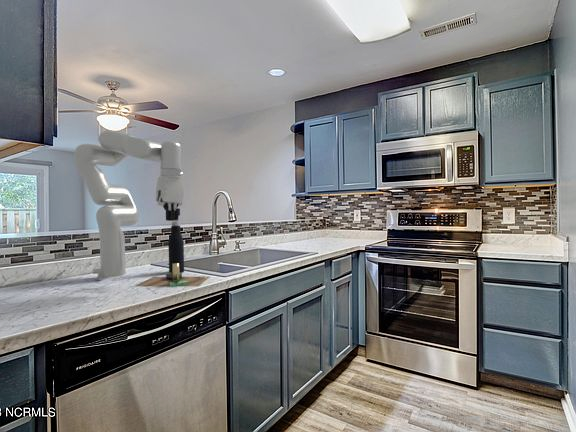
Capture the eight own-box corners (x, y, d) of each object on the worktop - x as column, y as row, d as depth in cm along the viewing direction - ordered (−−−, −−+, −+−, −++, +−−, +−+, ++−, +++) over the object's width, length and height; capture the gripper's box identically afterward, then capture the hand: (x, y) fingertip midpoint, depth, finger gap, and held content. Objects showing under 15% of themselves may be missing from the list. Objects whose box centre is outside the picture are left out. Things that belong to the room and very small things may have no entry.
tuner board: (133, 290, 117) (133, 283, 117) (153, 280, 133) (153, 274, 133) (198, 290, 116) (198, 283, 116) (210, 280, 132) (210, 274, 132)
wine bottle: (179, 273, 147) (177, 208, 146) (187, 275, 143) (185, 208, 142) (166, 275, 142) (164, 208, 141) (174, 277, 138) (172, 208, 137)
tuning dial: (165, 277, 131) (165, 259, 131) (181, 275, 133) (180, 258, 133) (168, 286, 116) (167, 265, 116) (185, 284, 118) (185, 264, 118)
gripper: (179, 175, 133) (179, 219, 134) (147, 172, 121) (147, 220, 121) (192, 175, 129) (191, 220, 130) (160, 171, 117) (160, 221, 117)
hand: (170, 220), depth 126 cm, fingers closed
